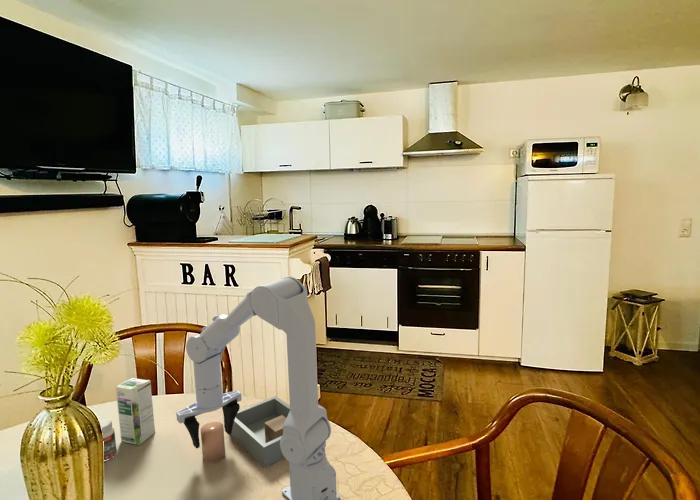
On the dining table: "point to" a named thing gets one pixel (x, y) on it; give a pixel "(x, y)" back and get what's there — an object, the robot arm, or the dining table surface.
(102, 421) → the pill bottle
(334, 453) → the dining table surface
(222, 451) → the terracotta cylinder
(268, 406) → the box
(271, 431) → the walnut cube
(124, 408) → the syrup box
